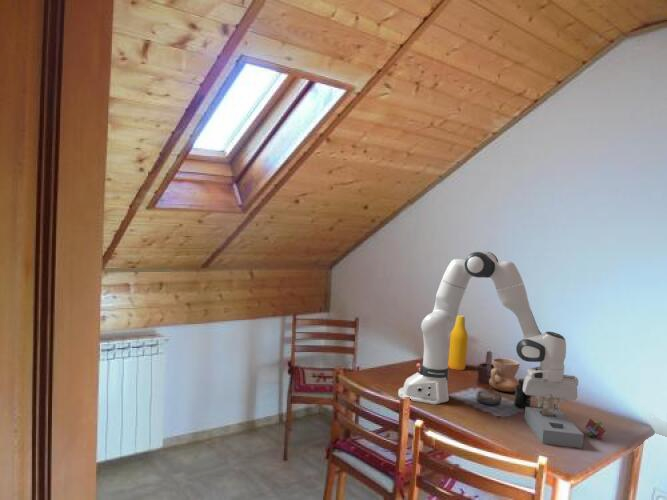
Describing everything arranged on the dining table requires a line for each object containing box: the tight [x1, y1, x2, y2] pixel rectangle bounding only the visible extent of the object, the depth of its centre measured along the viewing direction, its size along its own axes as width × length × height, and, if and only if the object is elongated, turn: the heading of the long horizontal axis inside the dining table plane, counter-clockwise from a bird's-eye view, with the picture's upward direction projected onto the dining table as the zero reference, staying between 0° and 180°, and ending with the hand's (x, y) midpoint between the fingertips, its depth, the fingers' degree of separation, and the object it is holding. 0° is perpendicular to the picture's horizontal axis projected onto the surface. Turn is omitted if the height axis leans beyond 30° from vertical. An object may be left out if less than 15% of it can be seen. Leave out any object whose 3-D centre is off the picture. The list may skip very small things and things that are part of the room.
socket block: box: [524, 406, 585, 449], centre depth 195 cm, size 14×24×5 cm, turn 174°
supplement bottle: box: [513, 378, 532, 410], centre depth 222 cm, size 7×7×12 cm
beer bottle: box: [448, 314, 468, 371], centre depth 278 cm, size 9×9×29 cm
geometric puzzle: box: [585, 418, 606, 441], centre depth 193 cm, size 7×7×8 cm
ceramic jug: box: [488, 357, 521, 393], centre depth 245 cm, size 18×14×14 cm
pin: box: [541, 394, 555, 417], centre depth 201 cm, size 4×4×12 cm
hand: (548, 407), depth 201 cm, fingers open, 5 cm apart
